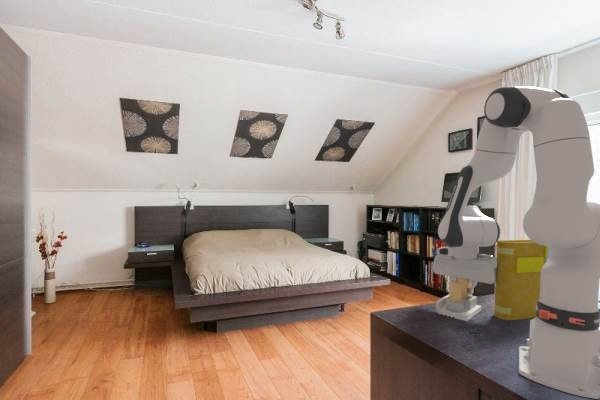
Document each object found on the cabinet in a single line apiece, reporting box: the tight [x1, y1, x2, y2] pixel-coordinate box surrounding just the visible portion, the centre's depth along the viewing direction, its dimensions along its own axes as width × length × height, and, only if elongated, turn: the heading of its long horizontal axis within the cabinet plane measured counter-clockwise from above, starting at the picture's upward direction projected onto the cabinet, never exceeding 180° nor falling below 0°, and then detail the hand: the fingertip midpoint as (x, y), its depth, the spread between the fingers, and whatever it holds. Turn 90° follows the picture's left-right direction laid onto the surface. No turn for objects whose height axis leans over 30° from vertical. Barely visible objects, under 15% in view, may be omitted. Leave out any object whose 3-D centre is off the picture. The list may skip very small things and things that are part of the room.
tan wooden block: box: [457, 278, 470, 300], centre depth 122 cm, size 4×4×9 cm
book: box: [493, 238, 549, 321], centre depth 117 cm, size 17×7×25 cm, turn 108°
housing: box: [435, 281, 482, 322], centre depth 119 cm, size 15×10×10 cm, turn 137°
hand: (462, 291), depth 122 cm, fingers closed on tan wooden block, 4 cm apart
